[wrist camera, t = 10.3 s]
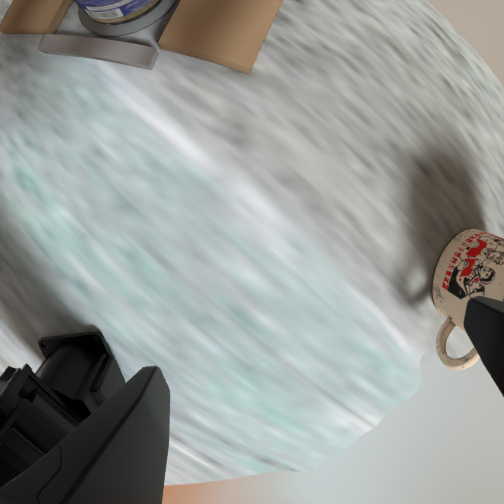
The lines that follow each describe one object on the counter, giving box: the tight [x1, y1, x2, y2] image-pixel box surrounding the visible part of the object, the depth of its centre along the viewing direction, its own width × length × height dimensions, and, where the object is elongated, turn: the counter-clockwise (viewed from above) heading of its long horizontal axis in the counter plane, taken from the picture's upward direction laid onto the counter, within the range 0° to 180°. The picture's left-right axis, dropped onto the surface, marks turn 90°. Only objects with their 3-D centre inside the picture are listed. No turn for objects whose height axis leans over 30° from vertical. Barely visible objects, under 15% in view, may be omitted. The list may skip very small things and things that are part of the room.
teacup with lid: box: [433, 229, 504, 370], centre depth 18 cm, size 12×9×12 cm
